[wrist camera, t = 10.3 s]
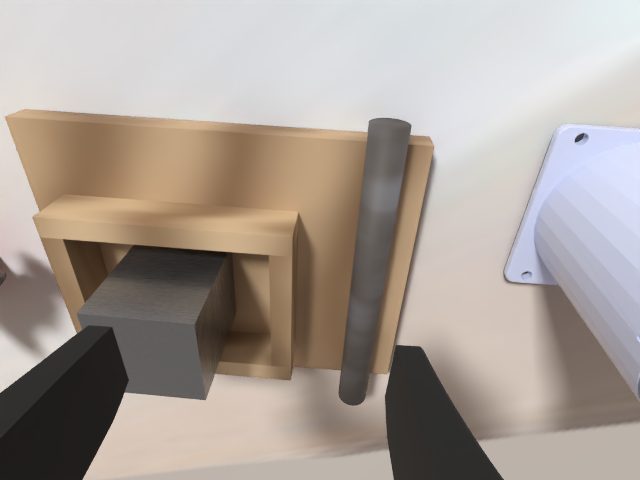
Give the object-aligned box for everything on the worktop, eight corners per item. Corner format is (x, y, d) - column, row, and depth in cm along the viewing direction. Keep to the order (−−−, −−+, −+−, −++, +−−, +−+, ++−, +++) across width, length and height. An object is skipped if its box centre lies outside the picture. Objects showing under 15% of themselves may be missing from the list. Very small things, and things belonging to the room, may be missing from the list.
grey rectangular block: (231, 244, 20) (194, 324, 15) (236, 313, 22) (205, 400, 18) (140, 236, 20) (76, 313, 15) (155, 305, 22) (103, 390, 18)
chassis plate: (433, 113, 17) (450, 139, 14) (383, 369, 26) (387, 417, 23) (16, 85, 17) (-50, 105, 15) (104, 345, 26) (73, 389, 23)
